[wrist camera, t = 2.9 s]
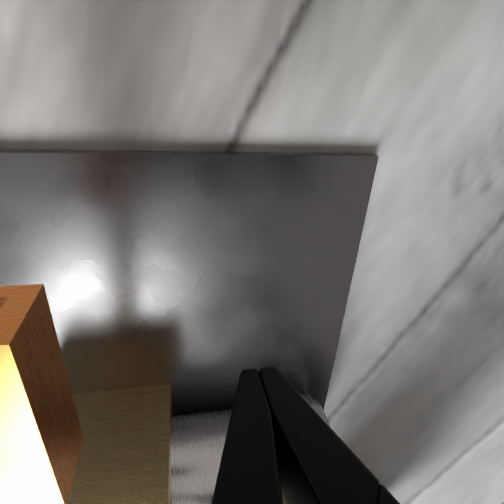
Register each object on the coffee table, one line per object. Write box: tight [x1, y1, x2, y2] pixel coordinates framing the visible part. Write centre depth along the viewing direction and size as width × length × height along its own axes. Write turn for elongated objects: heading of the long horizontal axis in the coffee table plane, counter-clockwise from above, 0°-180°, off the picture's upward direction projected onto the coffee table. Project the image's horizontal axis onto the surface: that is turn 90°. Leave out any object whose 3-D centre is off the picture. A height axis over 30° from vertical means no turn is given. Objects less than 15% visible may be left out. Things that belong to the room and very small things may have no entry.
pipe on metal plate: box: [0, 150, 378, 504], centre depth 15 cm, size 24×22×7 cm
